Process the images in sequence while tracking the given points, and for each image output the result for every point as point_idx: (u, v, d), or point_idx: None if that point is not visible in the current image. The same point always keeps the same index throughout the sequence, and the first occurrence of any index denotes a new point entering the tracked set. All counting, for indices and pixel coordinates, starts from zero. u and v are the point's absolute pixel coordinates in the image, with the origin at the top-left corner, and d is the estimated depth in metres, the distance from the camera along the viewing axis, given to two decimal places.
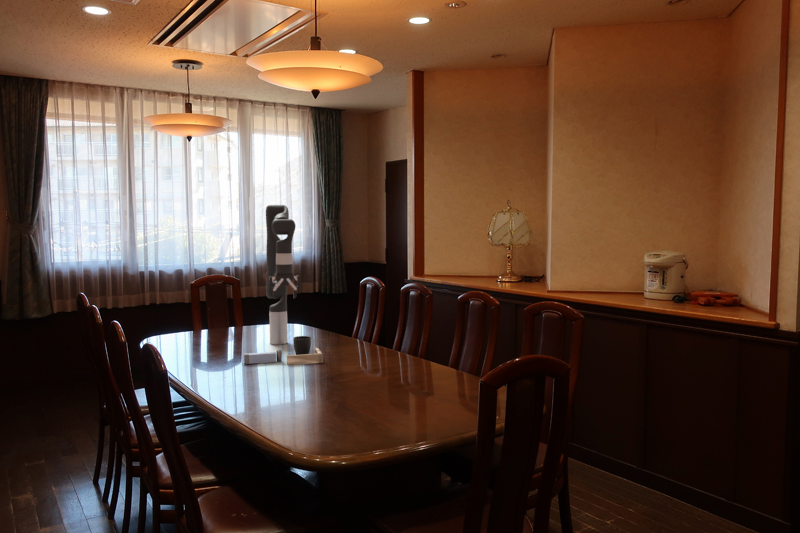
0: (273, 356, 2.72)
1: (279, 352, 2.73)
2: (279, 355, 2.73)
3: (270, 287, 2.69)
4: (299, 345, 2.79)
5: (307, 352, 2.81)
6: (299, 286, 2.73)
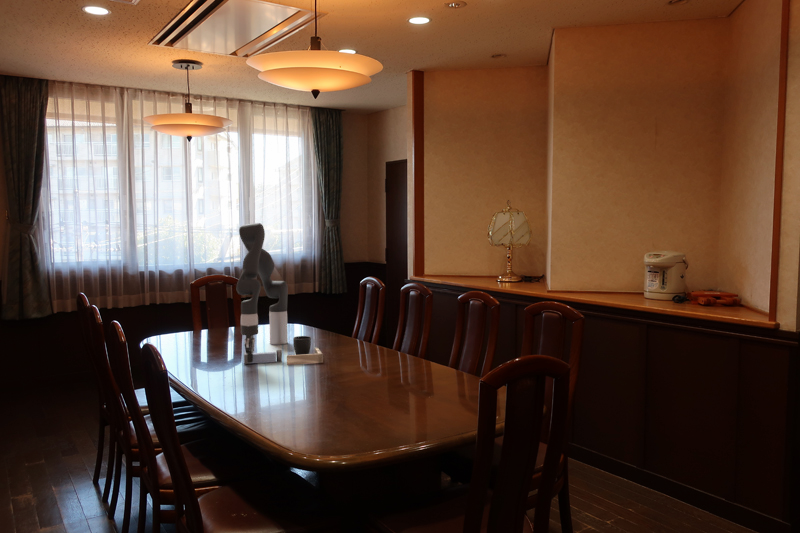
0: (272, 356, 2.72)
1: (279, 352, 2.73)
2: (279, 355, 2.73)
3: (251, 351, 2.65)
4: (299, 345, 2.79)
5: (307, 352, 2.81)
6: (253, 348, 2.70)
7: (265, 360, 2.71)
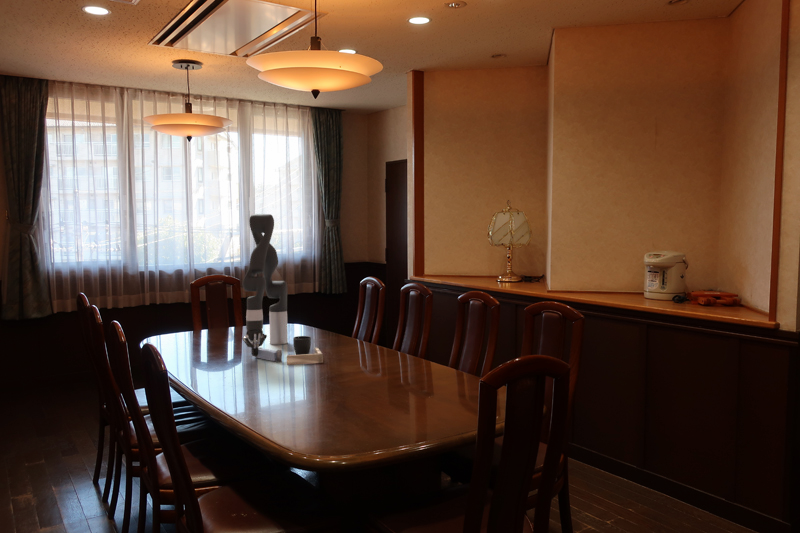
0: (272, 355, 2.75)
1: (279, 352, 2.73)
2: (279, 355, 2.73)
3: (251, 345, 2.76)
4: (299, 345, 2.79)
5: (307, 352, 2.81)
6: (261, 343, 2.80)
7: (267, 357, 2.77)
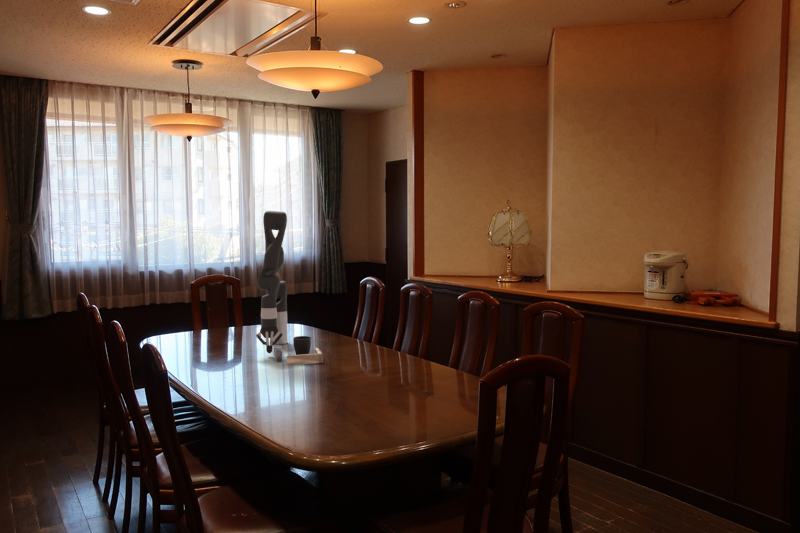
0: (275, 354, 2.77)
1: (279, 352, 2.73)
2: (279, 355, 2.73)
3: (263, 342, 2.83)
4: (299, 345, 2.79)
5: (307, 352, 2.81)
6: (275, 341, 2.85)
7: None
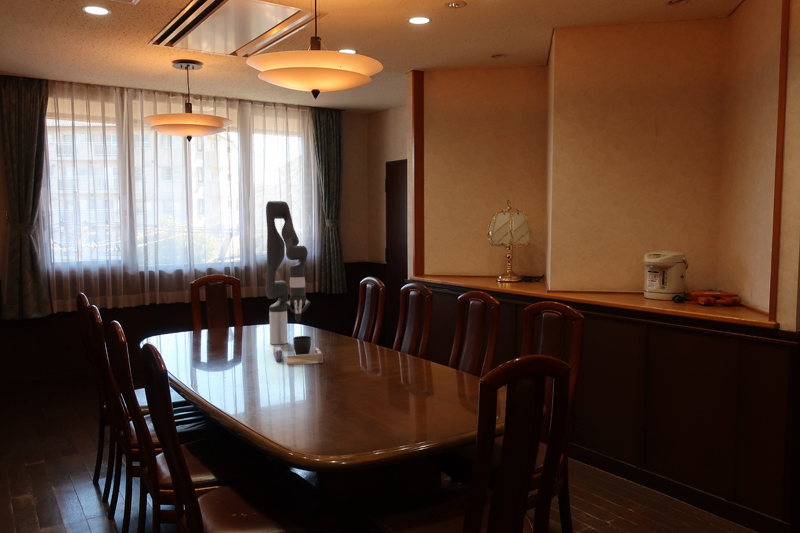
0: (275, 354, 2.77)
1: (279, 352, 2.73)
2: (279, 355, 2.73)
3: (292, 310, 2.93)
4: (299, 345, 2.79)
5: (307, 352, 2.81)
6: (303, 310, 2.95)
7: None
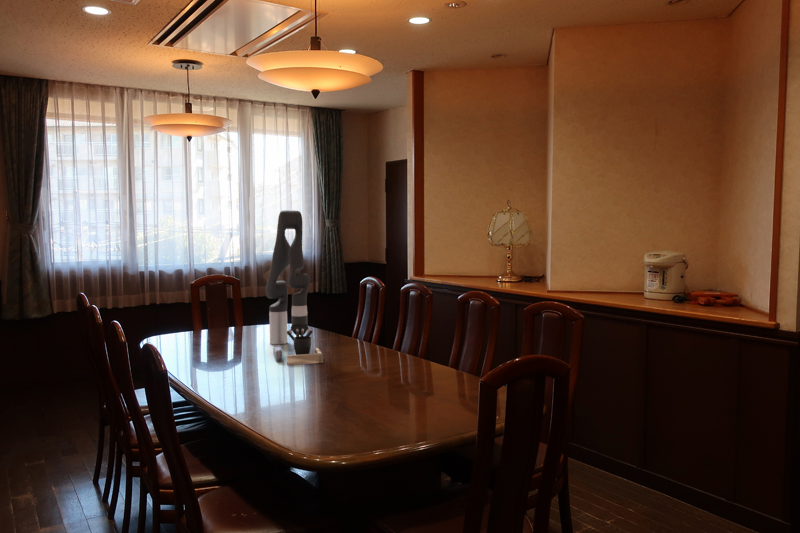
0: (275, 354, 2.77)
1: (279, 352, 2.73)
2: (279, 355, 2.73)
3: None
4: (300, 345, 2.78)
5: (307, 352, 2.81)
6: None
7: None
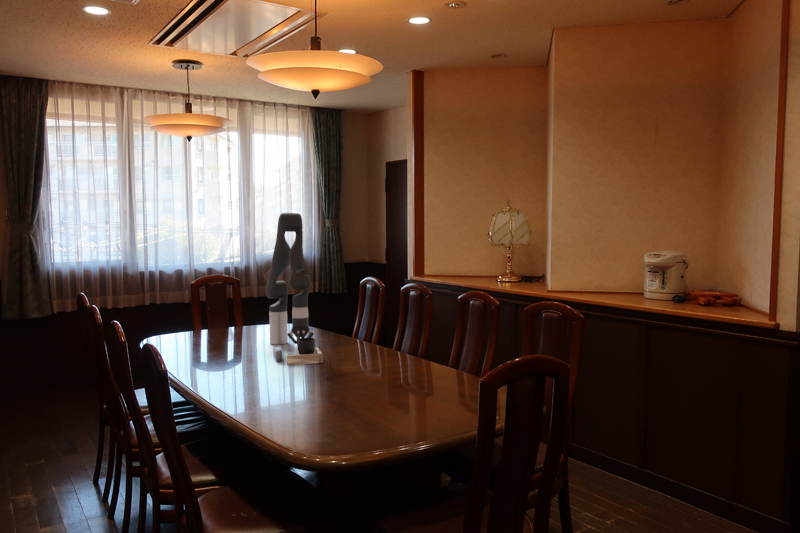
0: (275, 354, 2.77)
1: (279, 352, 2.73)
2: (279, 355, 2.73)
3: (294, 341, 2.84)
4: (305, 347, 2.74)
5: None
6: None
7: None
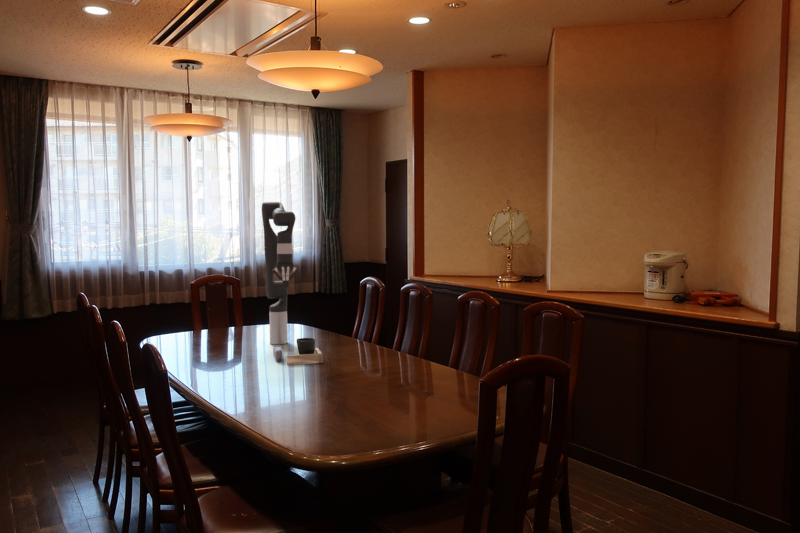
0: (275, 354, 2.77)
1: (279, 352, 2.73)
2: (279, 355, 2.73)
3: (279, 277, 2.89)
4: (305, 347, 2.74)
5: None
6: (291, 277, 2.90)
7: None
